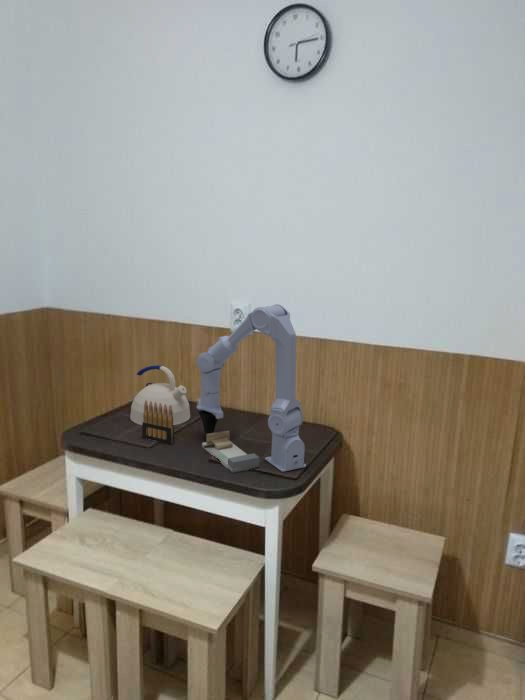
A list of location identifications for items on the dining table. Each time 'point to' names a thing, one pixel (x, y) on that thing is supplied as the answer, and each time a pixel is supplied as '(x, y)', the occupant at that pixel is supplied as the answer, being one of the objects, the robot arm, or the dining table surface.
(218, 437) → the gauge carriage
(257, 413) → the dining table surface
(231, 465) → the gauge base
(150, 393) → the kettle
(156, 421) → the ammunition clip
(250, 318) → the robot arm
